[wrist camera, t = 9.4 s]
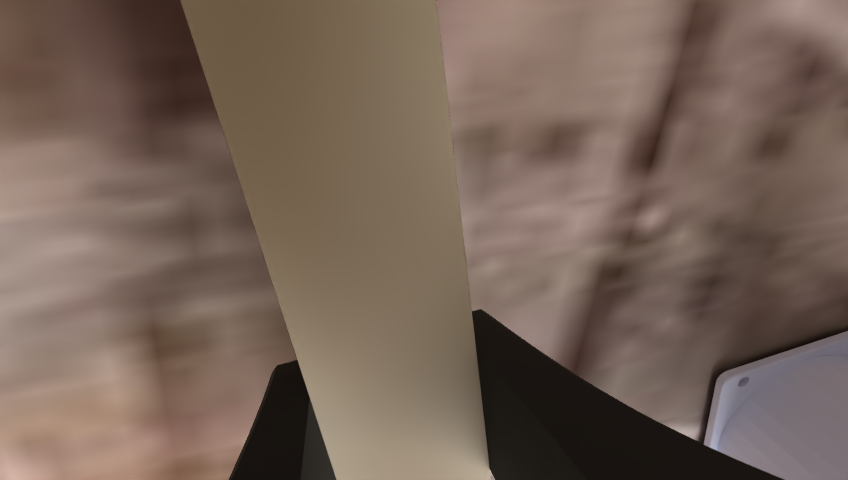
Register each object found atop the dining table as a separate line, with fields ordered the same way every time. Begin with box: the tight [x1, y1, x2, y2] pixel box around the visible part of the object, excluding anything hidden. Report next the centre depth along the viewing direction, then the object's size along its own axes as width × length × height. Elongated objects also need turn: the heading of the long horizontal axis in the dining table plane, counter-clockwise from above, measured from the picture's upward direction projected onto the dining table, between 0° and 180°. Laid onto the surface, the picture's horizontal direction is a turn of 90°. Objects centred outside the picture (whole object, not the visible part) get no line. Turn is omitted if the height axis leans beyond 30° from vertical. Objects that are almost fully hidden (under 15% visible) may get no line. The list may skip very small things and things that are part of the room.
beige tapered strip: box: [180, 0, 491, 480], centre depth 9 cm, size 2×16×4 cm, turn 8°
